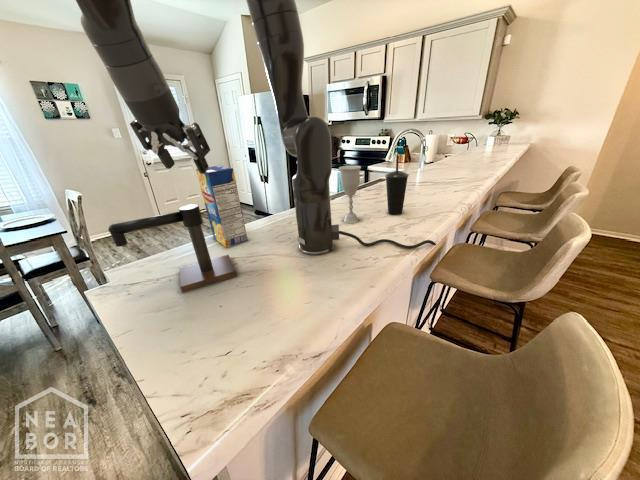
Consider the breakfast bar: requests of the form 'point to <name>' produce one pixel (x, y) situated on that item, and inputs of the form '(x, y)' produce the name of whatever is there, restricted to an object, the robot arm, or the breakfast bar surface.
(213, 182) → the blue and yellow box
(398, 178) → the drinking cup
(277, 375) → the breakfast bar surface
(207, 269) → the base
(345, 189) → the chalice
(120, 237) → the spout
